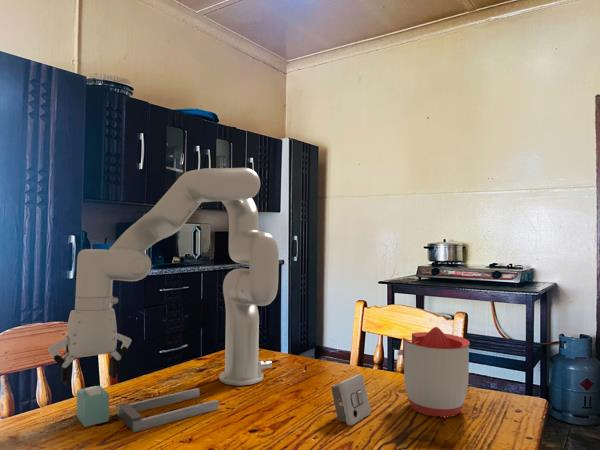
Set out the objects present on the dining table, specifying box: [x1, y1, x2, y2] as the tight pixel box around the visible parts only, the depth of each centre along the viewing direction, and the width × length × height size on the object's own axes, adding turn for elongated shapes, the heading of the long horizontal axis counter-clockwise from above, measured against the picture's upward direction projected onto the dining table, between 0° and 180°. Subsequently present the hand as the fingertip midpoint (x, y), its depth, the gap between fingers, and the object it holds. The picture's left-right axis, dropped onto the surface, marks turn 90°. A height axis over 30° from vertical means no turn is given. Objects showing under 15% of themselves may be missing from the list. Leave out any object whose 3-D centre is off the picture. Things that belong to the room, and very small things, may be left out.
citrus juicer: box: [396, 326, 471, 418], centre depth 110 cm, size 16×17×20 cm
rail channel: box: [117, 387, 219, 433], centre depth 105 cm, size 20×11×2 cm, turn 129°
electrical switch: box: [330, 373, 372, 426], centre depth 104 cm, size 9×5×9 cm, turn 141°
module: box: [76, 385, 110, 427], centre depth 101 cm, size 5×7×7 cm
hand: (90, 380), depth 101 cm, fingers open, 9 cm apart
